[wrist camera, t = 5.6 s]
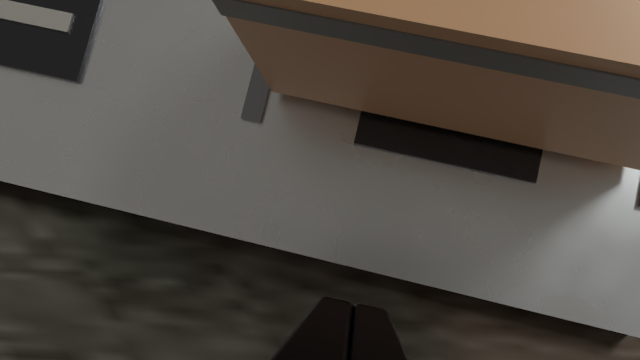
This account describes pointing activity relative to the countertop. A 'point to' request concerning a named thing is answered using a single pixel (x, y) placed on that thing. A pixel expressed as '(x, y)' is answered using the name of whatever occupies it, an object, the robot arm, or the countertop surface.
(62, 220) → the countertop surface
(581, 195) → the label panel
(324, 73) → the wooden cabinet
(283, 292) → the countertop surface
